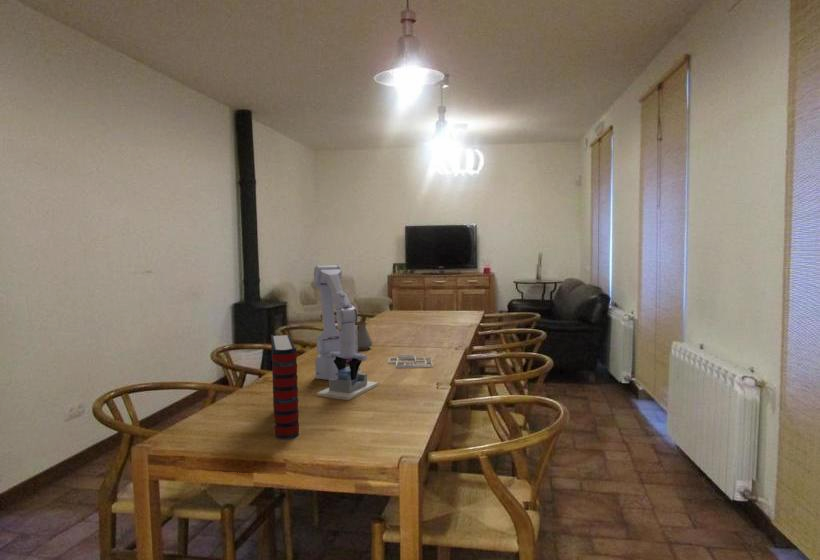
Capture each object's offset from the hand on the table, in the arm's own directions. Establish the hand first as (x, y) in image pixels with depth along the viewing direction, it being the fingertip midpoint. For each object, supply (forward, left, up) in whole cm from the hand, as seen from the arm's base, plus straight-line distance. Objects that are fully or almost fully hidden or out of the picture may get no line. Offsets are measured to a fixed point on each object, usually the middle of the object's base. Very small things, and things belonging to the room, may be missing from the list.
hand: (348, 378), depth 190 cm
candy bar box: (-25, +37, -4) cm, 45 cm away
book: (+2, -37, -4) cm, 37 cm away
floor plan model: (-1, +45, -5) cm, 45 cm away
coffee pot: (-31, +59, -4) cm, 67 cm away
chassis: (0, 0, -4) cm, 4 cm away
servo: (0, 0, -2) cm, 2 cm away
